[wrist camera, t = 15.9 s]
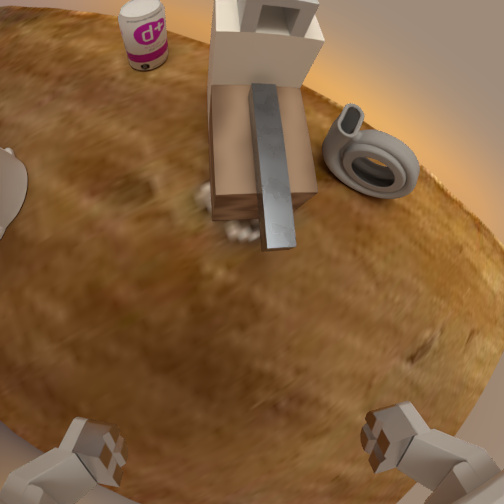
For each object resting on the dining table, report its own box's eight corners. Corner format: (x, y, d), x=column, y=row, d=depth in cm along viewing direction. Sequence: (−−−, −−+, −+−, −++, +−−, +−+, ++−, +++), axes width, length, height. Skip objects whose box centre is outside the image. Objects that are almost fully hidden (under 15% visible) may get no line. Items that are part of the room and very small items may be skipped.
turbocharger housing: (389, 186, 52) (438, 160, 37) (379, 214, 51) (431, 192, 36) (316, 138, 50) (352, 94, 35) (303, 164, 49) (338, 123, 34)
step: (212, 220, 46) (215, 195, 32) (208, 133, 47) (211, 84, 33) (286, 217, 48) (318, 192, 34) (276, 133, 49) (299, 88, 35)
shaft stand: (208, 133, 47) (220, -7, 18) (207, 89, 48) (219, -44, 19) (276, 133, 49) (342, 9, 20) (270, 90, 50) (319, -31, 21)
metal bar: (261, 251, 32) (267, 248, 29) (247, 96, 34) (251, 83, 31) (288, 249, 32) (296, 246, 30) (270, 97, 34) (275, 84, 31)
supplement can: (174, 62, 48) (170, 8, 33) (136, 78, 46) (122, 25, 31) (160, 41, 48) (155, -10, 33) (124, 56, 46) (111, 6, 31)
